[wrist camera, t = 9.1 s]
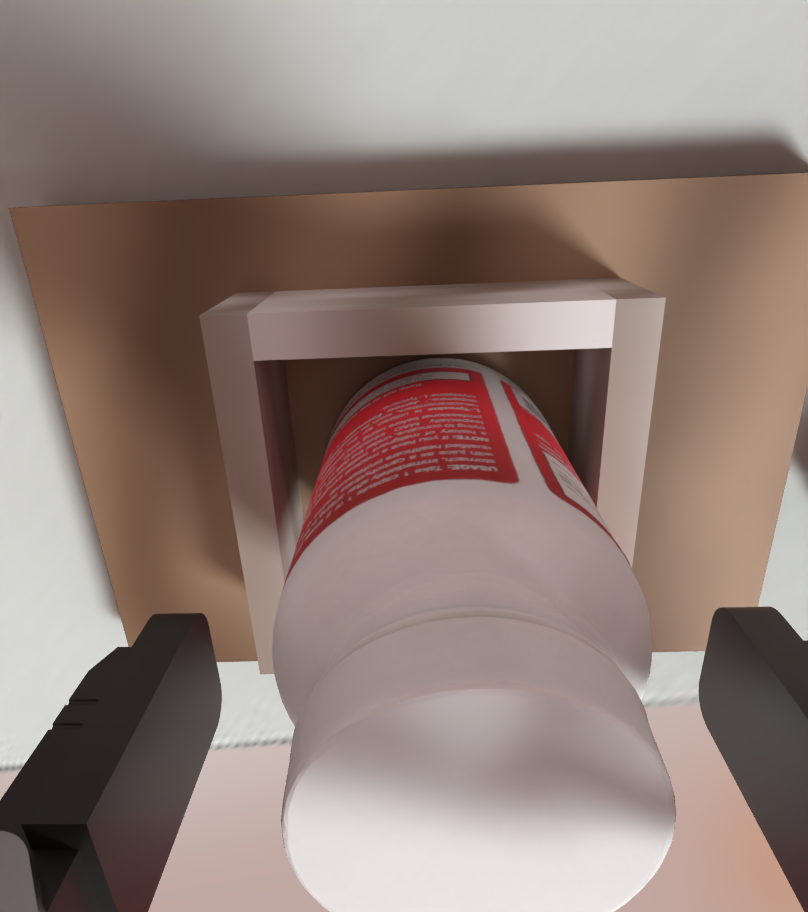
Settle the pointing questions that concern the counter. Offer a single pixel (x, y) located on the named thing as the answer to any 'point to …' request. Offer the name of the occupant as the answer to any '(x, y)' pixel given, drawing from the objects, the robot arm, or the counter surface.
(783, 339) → the bottle holder
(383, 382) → the pill bottle
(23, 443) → the counter surface
